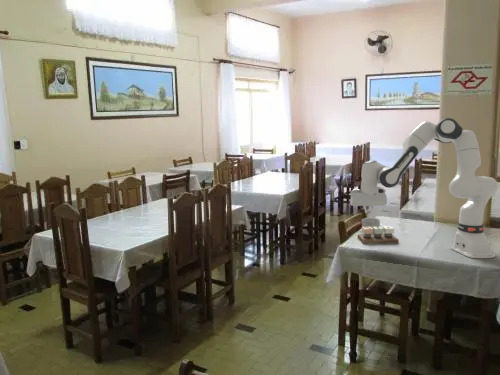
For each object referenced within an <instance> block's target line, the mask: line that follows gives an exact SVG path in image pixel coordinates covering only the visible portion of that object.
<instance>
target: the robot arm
mask: <svg viewBox="0 0 500 375" xmlns="http://www.w3.org/2000/svg"><path fill="white" fill-rule="evenodd" d="M434 140H435V141H437V142H439V143H442V144H450V143H452V144H454V148H455V154H456V161H457V170H456V172H455V173H456V174H455V176H454V178H453V179H452V180H451V181H450V182H449V184H448V191H449V193H450V195H451V196H452V197H454V198H458V199H467V200H466V202H465V203H464V204H463V205H461V206H460V209H459V216H458V222H457V231H456V233H455V234H454V238H453V239H454V240H453V244H452V246H450V250H452V251H454V252H456V253H459V254H461V255H463V256H465V257H467V258H471V259H493V258H496V254H495V253H494V252H492V250H491V245H492V242H491V241H490V240H488V238H487V237H486V235H485V233H484V232H485V228H484V223H483V222H484V221H483V220H484V219H483V218H484V213H485V208H486V205H487V204H488V202H489V201H490V200H491V197H492V196H494V195H495V194H496V193H497V191H498V189H499V188H498V185H499V184H498V182H497V180H496V179H495V178H494V177H491V176H485V175H482V176H478V175H477V176H476V174H475V173H476V170H477V169H478V168H479V167H480V166H481V164H482V159H481V152H480V145H479V141H478V139H477V136H476V134H475V132H474V131H473V130H471V129H470V130H469V129H464V130H463V127H462V126H461V124H460V123H459V122H458V121H456V120H455V119H453V118H450V117H446V118H443V119H441V120H440V121H439V122H438V123H437V124H434V123H433V122H431V121H429V120H426V121H422V122H421V123H420V124H418V125H417V126H416V127H415V128H414V129H412V131H411V132H410V133H409V134H408V135H407V137H406V138H405V139H404V141H403V143H402V148H403V150H402V153H401V155H400V156H399V158H398V159H397V160H396V161H395V162H394V163H393V165H392V166H391V167H390V166H387V165H384V164H382V163H379V162H378V161H377V160H375V159H373V160H366V161H364V162H363V163H362V165H361V166H362V167H361V175H360V176H361V182H360V188H359V189H356V188H355V189H352V190H350V193H349V196H350V200H349V204H350V205H351V206H352V207H362V208H364V212H365V214H372V210H373V208H374V206H377V207H379V206H381V207H382V206H387V204H388V197H387V193H386V189H385V188H388V189H390V188H394V187H396V186H397V185H399V184H398V183H399V182H400V180H401V177H402V175H403V173H404V172H405V171H406V170H407V168H408V167H409V166H410V164H412V162H413V161H414V160H415V159H416V157H417V156H418V155H419V154H420V153H421V152H422V151H423V150H424V149H425V148H426V147H427V146H428V145H429V144H430V142H432V141H434ZM379 183H380V184H381V186H383V187H380V186H378V184H379ZM384 187H385V188H384ZM367 207H369V209H367Z"/></svg>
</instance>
